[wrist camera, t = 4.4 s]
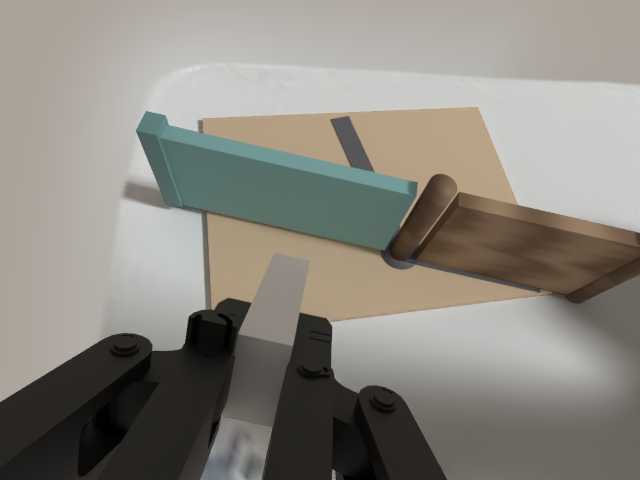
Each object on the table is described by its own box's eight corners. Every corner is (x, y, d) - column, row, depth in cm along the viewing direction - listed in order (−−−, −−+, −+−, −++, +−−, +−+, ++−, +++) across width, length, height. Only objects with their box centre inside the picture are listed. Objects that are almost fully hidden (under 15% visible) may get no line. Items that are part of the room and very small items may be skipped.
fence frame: (583, 285, 39) (688, 230, 30) (585, 305, 38) (694, 255, 29) (389, 241, 39) (430, 171, 29) (386, 260, 38) (427, 194, 28)
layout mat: (476, 109, 48) (478, 106, 47) (551, 294, 39) (554, 292, 38) (202, 121, 43) (202, 117, 42) (213, 336, 34) (212, 334, 33)
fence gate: (386, 235, 38) (421, 174, 30) (384, 253, 37) (418, 195, 29) (173, 187, 38) (146, 111, 29) (166, 204, 37) (135, 130, 29)
